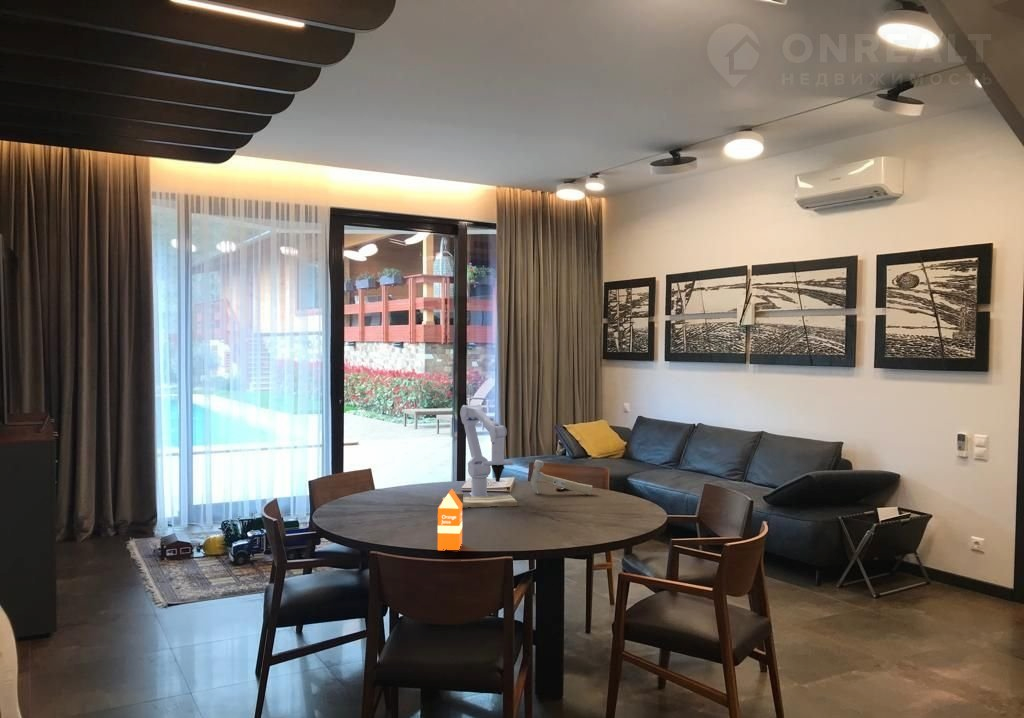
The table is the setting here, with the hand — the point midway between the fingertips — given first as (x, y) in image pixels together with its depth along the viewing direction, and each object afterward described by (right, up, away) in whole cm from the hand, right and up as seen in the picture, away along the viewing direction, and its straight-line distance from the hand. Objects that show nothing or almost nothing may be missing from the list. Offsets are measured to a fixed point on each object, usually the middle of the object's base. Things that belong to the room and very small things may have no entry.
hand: (497, 481), depth 324 cm
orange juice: (-15, -10, -77) cm, 79 cm away
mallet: (-18, -7, -8) cm, 22 cm away
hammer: (+31, -10, +19) cm, 38 cm away
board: (-8, -9, -5) cm, 13 cm away
